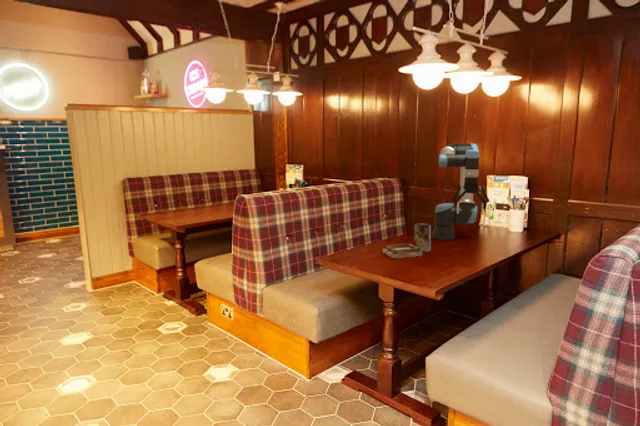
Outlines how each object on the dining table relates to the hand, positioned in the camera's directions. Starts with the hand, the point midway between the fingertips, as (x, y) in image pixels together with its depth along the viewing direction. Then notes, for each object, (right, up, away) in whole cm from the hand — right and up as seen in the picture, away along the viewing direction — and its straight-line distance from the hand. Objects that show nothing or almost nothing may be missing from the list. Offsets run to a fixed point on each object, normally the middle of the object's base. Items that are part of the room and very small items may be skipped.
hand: (469, 214), depth 250 cm
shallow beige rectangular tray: (-38, -24, +6) cm, 45 cm away
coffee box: (-24, -22, +15) cm, 36 cm away
